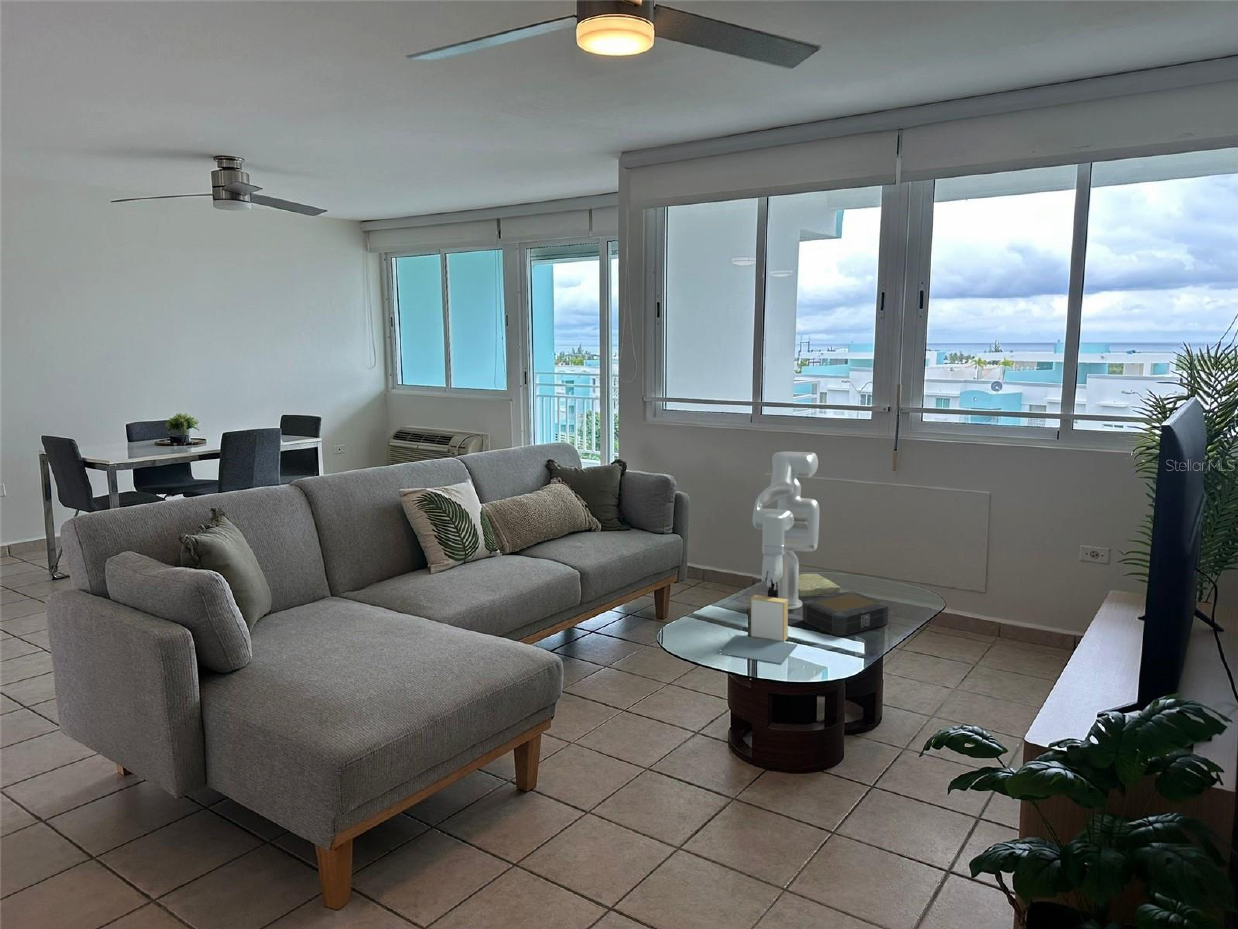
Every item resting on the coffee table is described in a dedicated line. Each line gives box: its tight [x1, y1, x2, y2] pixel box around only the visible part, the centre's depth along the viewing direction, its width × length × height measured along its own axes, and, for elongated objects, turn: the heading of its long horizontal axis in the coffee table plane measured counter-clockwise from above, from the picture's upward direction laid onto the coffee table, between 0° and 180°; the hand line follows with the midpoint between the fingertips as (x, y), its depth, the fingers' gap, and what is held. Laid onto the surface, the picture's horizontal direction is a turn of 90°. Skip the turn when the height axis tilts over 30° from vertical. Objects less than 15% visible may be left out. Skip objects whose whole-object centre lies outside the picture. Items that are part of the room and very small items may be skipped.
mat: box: [716, 634, 798, 665], centre depth 279 cm, size 18×22×1 cm
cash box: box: [802, 590, 890, 637], centre depth 303 cm, size 25×20×8 cm
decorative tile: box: [798, 573, 841, 597], centre depth 345 cm, size 19×20×4 cm
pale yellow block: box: [750, 594, 789, 642], centre depth 289 cm, size 4×12×14 cm, turn 62°
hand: (772, 600), depth 292 cm, fingers closed
